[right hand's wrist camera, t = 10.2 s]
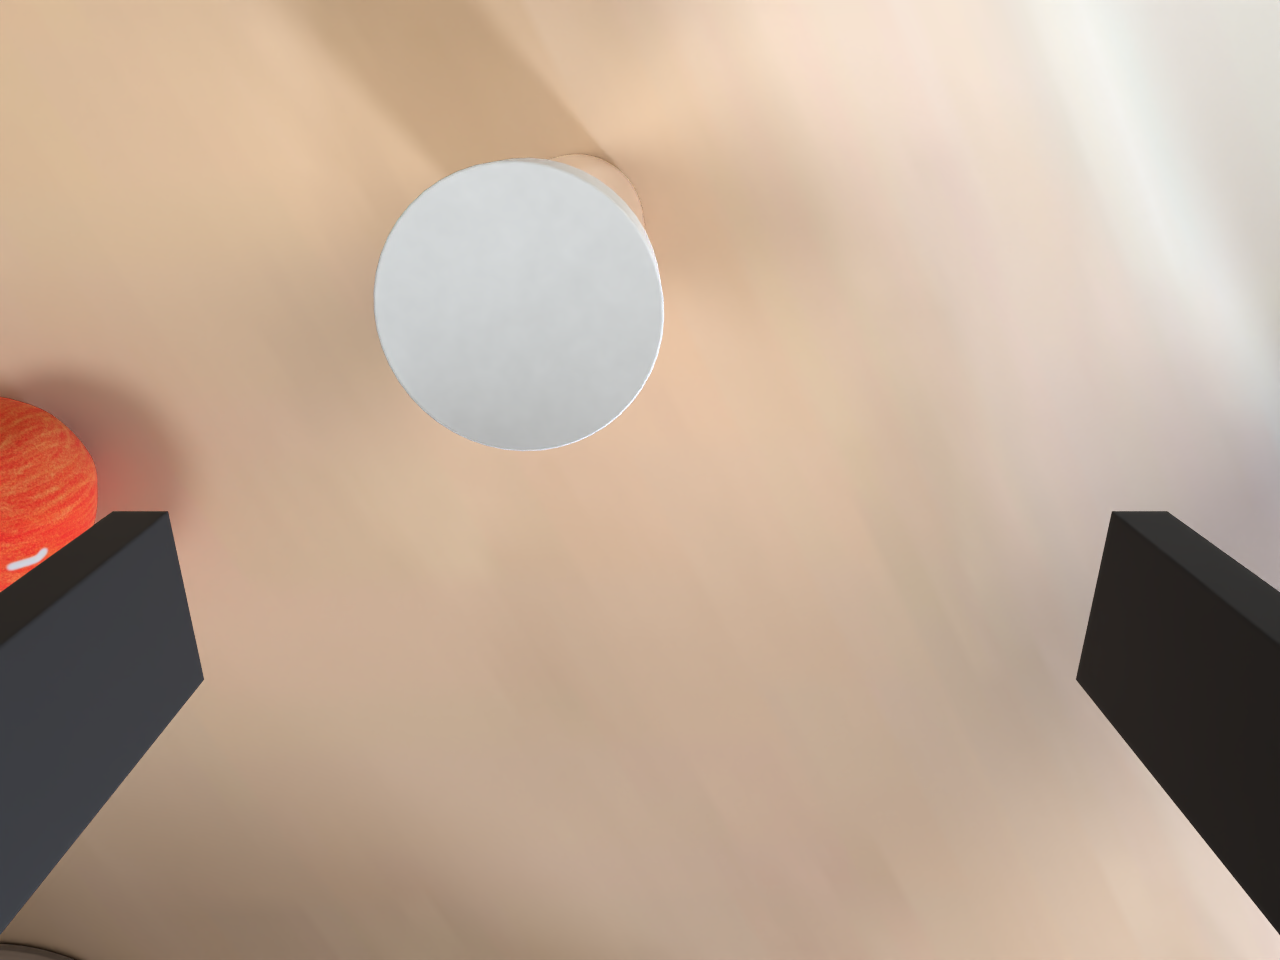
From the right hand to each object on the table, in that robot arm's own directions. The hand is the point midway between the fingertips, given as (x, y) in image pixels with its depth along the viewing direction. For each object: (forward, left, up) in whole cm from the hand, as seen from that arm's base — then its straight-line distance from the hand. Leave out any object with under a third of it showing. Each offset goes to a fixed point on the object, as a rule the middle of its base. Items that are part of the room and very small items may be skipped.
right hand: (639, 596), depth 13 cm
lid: (-2, +3, -5) cm, 6 cm away
